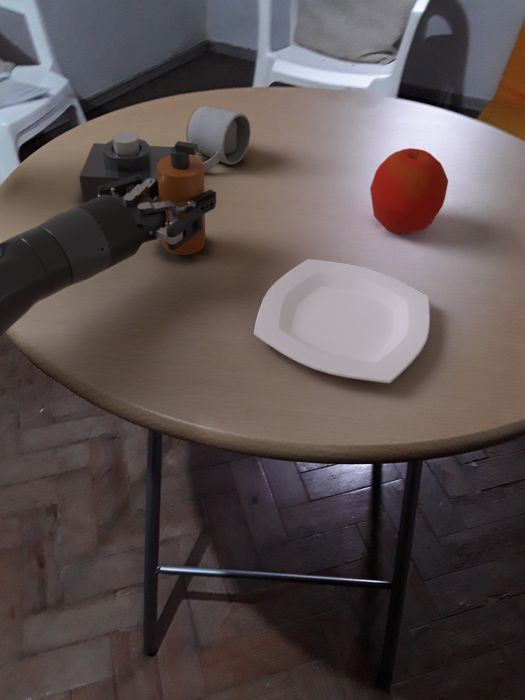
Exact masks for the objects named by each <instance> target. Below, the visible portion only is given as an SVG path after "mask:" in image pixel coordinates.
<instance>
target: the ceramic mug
mask: <svg viewBox="0 0 525 700" xmlns="http://www.w3.org/2000/svg"><path fill="white" fill-rule="evenodd" d="M185 127H186V128H185V138H186V142H187V143H193V144H197V153H198V154H200V155H203V156H206V157H209V159H208V160H206V161H203V164H204V172H207V171H209V170H211V169H213V168H214V167H215V166H217V164H218V163H220V162H221V163H224V164H227V165H236V164H238V163H240V162H241V160H242V159H243V158H244V156H245V154H246V152H247V151H248V148H249V144H250V141H251V132H252V131H251V124H250V121H249V118H248V116H246V115H245V114H243V113H242V112H236V111H232V110H228V109H227V110H226V109H223V108H219V107H215V106H205V105H203V106H199V107H196V109H194V110H193V112H191V114H190V115H189V117H188V119H187V123H186V126H185Z"/></svg>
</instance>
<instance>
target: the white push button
mask: <svg viewBox="0 0 525 700" xmlns="http://www.w3.org/2000/svg"><path fill="white" fill-rule="evenodd" d="M139 139H140V138H139V135H138V134H137V133H135V132H134V131H125V130H124V131H119V132H116V133H114V134H113V135H112V140H113V146H114V152H115V153H117V154H120V155H131V154H136V153H137V152H139V151H140V148H139Z"/></svg>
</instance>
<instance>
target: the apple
mask: <svg viewBox="0 0 525 700" xmlns="http://www.w3.org/2000/svg"><path fill="white" fill-rule="evenodd" d="M448 186H449V179H448V177H447V174H446V172H445V169H444V167H443V165H442V163H441V162H440V161H439V160H438V159H437V158H436V157H435V156H434V155H433V154H431V152H428V151H426V150H425V149H420V148H413V147H412V148H402V149H400V150H397V151H395V152H393V153H391V154H389V156H388V157H386V158H385V159H384V160H383V161H382V162H381V163H380V164H379V165H378V167H377V169H376V170H375V173H374V176H373V179H372V181H371V185H370V187H369V189H370V199H371V205H372V211H373V217H374V218H375V219H376V220H377V222H379V224H380V225H381V226H383V227H384V228H385V229H386V230H387V231H389V232H391V233H393V234H398V235H406V234H411V233H415V232H418V231H422V230H425V229H427V228H428V227H429V226H430V225H432V224H433V222H434V220H435V219H436V217H437V216H438V214H439V213H440V211H441V210H442V208H443V207H444V203H445V200H446V196H447V191H448Z"/></svg>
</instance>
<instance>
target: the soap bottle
mask: <svg viewBox="0 0 525 700" xmlns="http://www.w3.org/2000/svg"><path fill="white" fill-rule="evenodd" d="M171 147H172V148H171V150H170V152H171V155H170V156H167V157H164V158H162V159H161V160H160V161H159V162H158V163H157V176H158V190H159V202H162V201H168V200H173V201H174V202H176V203H177V202H183V201H188V200H190V199H191V198H193V197H195V196H198V195H200V194H202V193H204V192H205V171H204V164H203V163H204V161H202V160H201V159H200V158H199V157H196V156H195V155H196V154H197V153H198V152H197V144H193V143H188V142H187V141H180V140H177V141H176V143H175V144H174V146H171ZM165 211H166V222H168V221H169V210H165ZM185 214H186V210H183V211H179V212H178V217H180V216H184V215H185ZM202 223H203V229H202V230H201V231H200V232H198V233H197V234H196V235H194V236H193V237H192V238H191V239H189V240H188V241H187V242H185V243H184V244H183V245H181V246H180V247H179V248H177V249H176V250H170V249H168V245H167V242H166V241H164V240H161V244H162V247H163V248H164V250H166V251H167V252H169V253H172V254H174V255H178V256H179V255H180V256H183V255H184V256H187V255H192V254H195V253H198V252H199V251H201V250H202V249H204V248H205V245H206V213H205V214H203V215H202Z"/></svg>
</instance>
